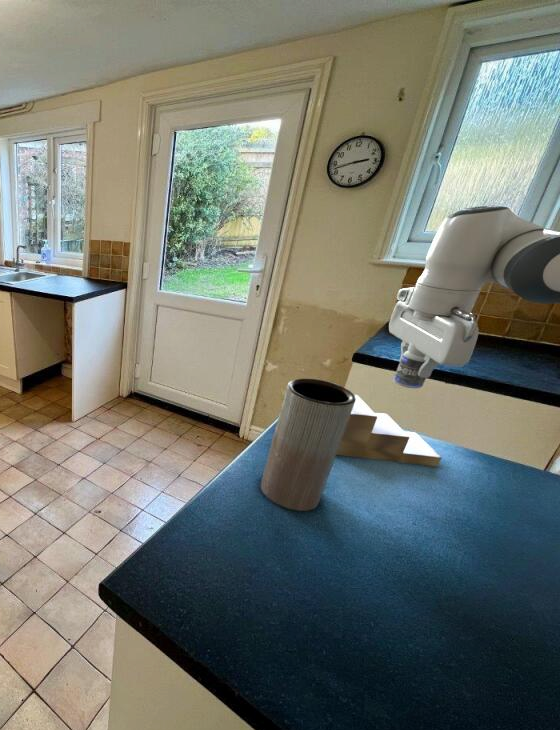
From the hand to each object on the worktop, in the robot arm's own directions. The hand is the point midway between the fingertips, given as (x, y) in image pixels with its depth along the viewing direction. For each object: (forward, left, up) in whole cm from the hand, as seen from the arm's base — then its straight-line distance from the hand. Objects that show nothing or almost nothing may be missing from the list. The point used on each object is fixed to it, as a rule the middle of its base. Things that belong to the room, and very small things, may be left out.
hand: (413, 369), depth 82 cm
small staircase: (+1, -2, -21) cm, 21 cm away
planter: (+23, +19, -21) cm, 36 cm away
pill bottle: (0, 0, -3) cm, 3 cm away
